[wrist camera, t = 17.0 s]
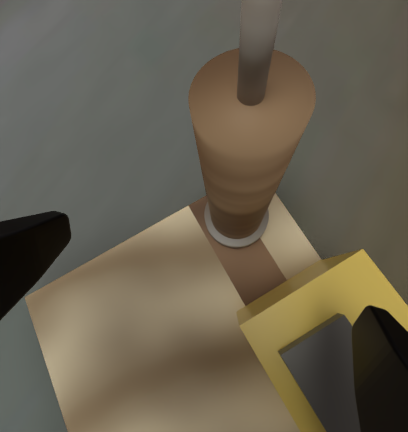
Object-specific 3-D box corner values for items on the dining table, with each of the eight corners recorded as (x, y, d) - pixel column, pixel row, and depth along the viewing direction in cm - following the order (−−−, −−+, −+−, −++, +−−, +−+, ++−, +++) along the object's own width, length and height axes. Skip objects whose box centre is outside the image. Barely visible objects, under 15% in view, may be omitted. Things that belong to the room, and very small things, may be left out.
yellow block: (399, 371, 14) (519, 434, 8) (306, 432, 14) (362, 542, 8) (318, 260, 16) (370, 246, 10) (236, 312, 16) (239, 328, 10)
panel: (430, 431, 14) (448, 444, 13) (144, 612, 13) (136, 642, 12) (255, 173, 19) (257, 166, 18) (37, 296, 18) (24, 297, 17)
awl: (274, 240, 16) (447, 36, 4) (213, 255, 16) (168, 108, 4) (256, 184, 18) (336, -116, 5) (199, 198, 18) (129, -61, 5)
